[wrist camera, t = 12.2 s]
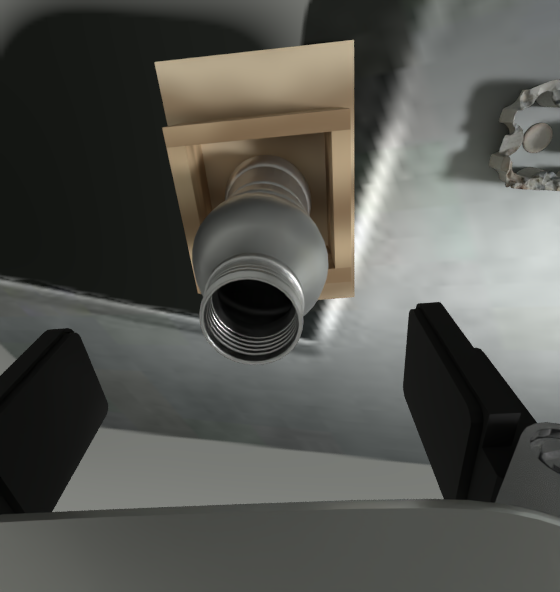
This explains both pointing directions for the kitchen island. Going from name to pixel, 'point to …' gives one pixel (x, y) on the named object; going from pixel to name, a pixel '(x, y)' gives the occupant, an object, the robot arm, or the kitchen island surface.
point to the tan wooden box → (267, 134)
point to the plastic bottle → (259, 262)
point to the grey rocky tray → (527, 141)
